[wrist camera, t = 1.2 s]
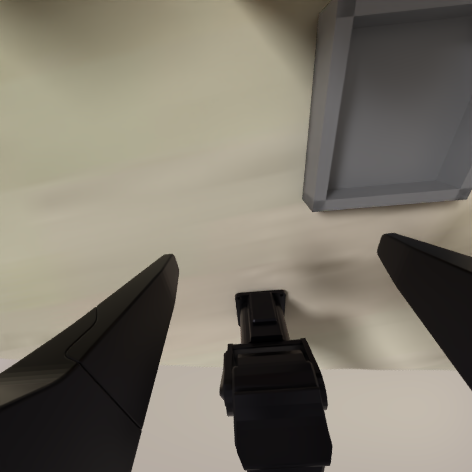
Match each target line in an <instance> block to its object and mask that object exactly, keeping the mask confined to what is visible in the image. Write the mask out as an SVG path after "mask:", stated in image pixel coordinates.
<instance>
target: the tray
mask: <svg viewBox="0 0 472 472" xmlns="http://www.w3.org/2000/svg"><path fill="white" fill-rule="evenodd" d="M471 190H472V0H331V2H330V3H329V4H328V5H327V6H326V7H325V8H324V9H323V10H322V11H321V12H320V13H319V19H318V31H317V42H316V53H315V64H314V75H313V86H312V97H311V108H310V119H309V131H308V142H307V153H306V164H305V175H304V186H303V197H302V199H303V201H304V202H305V203H306V204H307V206H308V207H309V208H310V210H311V211H312V212H318V211H330V210H342V209H355V208H367V207H379V206H391V205H403V204H415V203H427V202H439V201H451V200H463V199H467V198H468V196H469V194H470V192H471Z"/></svg>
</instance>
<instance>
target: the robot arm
mask: <svg viewBox="0 0 472 472" xmlns="http://www.w3.org/2000/svg"><path fill="white" fill-rule="evenodd" d="M377 253H378V256H379V258H380V260H381V261H382V263H383V265H384V267H385V268H386V270H387V272H388V274H389V275H390V277H391V279H392V280H393V282H394V284H395V285H396V287H397V288H398V290H399V291H400V292H401V294H402V295H403V297H404V298H405V299H406V301H407V302H408V303H409V305H410V306H411V308H412V309H413V310H414V312H415V313H416V315H417V316H418V317H419V319H420V320H421V321H422V323H423V324H424V326H425V327H426V328H427V330H428V331H429V332H430V334H431V335H432V337H433V338H434V339H435V341H436V342H437V343H438V345H439V346H440V348H441V349H442V350H443V352H444V353H445V354H446V356H447V357H448V359H449V360H450V361H451V363H452V364H453V365H454V367H455V368H456V370H457V371H458V372H459V374H460V375H461V376H462V378H463V379H464V381H465V382H466V383H467V385H468V386H469V388H470V389H471V390H472V257H470V256H467V255H463V254H460V253H457V252H454V251H451V250H447V249H444V248H441V247H438V246H434V245H431V244H428V243H425V242H422V241H418V240H415V239H412V238H409V237H406V236H402V235H399V234H396V233H388V234H384V235H382V237H381V240H380V243H379V246H378V249H377ZM178 277H179V268H178V265H177V262H176V258H175V256H174V255H173V254H165V255H163V256H162V257H160V258H159V259H158V260H156V261H155V262H154V263H152V264H151V265H150V266H149V267H147V268H146V269H145V270H143V271H142V272H141V273H139V274H138V275H137V276H135V277H134V278H133V279H132V280H130V281H129V282H128V283H126V284H125V285H124V286H122V287H121V288H120V289H118V290H117V291H116V292H114V293H113V294H112V295H111V296H109V297H108V298H107V299H105V300H104V301H103V302H101V303H100V304H99V305H98V306H97V307H95V308H93V309H92V310H91V311H90V312H88V313H87V314H86V315H84V316H83V317H82V318H80V319H79V320H78V321H76V322H75V323H74V324H72V325H71V326H69V327H68V328H67V329H65V330H64V331H62V332H61V333H59V334H58V335H56V336H55V337H54V338H52V339H51V340H49V341H48V342H46V343H45V344H43V345H42V346H40V347H39V348H37V349H36V350H35V351H33V352H32V353H30V354H29V355H27V356H26V357H24V358H23V359H21V360H20V361H18V362H17V363H16V364H14V365H12V366H11V367H10V368H8V369H6V370H5V371H3V372H2V373H0V472H131V470H132V466H133V462H134V458H135V455H136V451H137V447H138V443H139V439H140V435H141V429H142V427H143V424H144V420H145V416H146V412H147V408H148V404H149V401H150V397H151V393H152V389H153V385H154V382H155V378H156V374H157V370H158V366H159V362H160V359H161V355H162V351H163V347H164V343H165V340H166V336H167V332H168V328H169V324H170V320H171V317H172V313H173V309H174V305H175V299H176V292H177V284H178ZM285 296H286V295H285V291H283V290H276V291H262V292H248V293H237V294H236V295H235V300H236V309H237V317H238V325H239V326H240V327H241V344H228V350H227V351H226V353H224V367H223V374H222V379H221V384H220V396H221V397H222V399H223V400H224V402H225V406H226V410H227V415H228V416H234V434H235V435H234V436H235V446H236V449H237V453H238V456H239V458H240V461H241V463H242V466H243V468H244V470H247V472H324V468H325V466H330V463H331V455H332V442H331V439H330V435H329V431H328V427H327V423H326V418H325V413H324V410H327V406H328V403H327V394H326V389H325V384H324V381H323V378H322V374H321V372H320V369H319V367H318V365H317V362H316V360H315V358H314V356H313V354H312V352H311V349H310V347H309V345H308V343H307V341H306V338H300V339H298V340H290V338H289V334H288V330H287V326H286V323H285V319H284V312H285Z"/></svg>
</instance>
